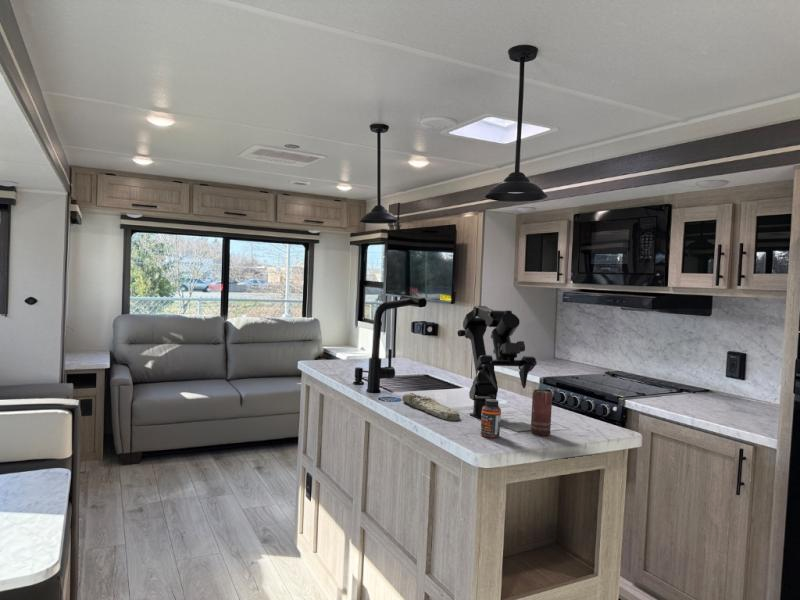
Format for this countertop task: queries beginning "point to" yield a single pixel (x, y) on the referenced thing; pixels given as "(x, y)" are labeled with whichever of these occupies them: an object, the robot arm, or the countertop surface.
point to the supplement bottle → (490, 419)
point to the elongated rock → (431, 406)
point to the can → (541, 412)
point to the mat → (517, 426)
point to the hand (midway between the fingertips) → (510, 387)
